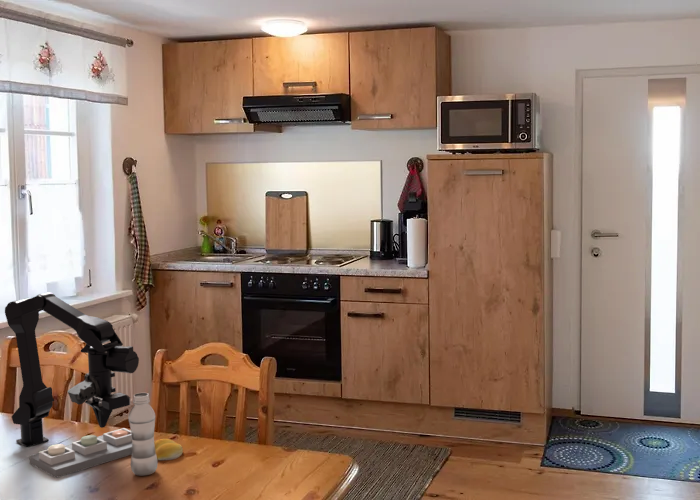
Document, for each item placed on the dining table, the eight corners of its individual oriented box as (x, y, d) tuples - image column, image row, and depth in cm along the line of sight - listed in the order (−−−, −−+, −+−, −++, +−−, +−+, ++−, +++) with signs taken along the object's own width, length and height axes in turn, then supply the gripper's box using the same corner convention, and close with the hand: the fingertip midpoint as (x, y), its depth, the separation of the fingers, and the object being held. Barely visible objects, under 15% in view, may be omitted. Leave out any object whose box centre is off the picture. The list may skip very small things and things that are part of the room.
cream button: (45, 453, 211) (45, 447, 210) (60, 449, 213) (60, 443, 213) (53, 457, 208) (52, 450, 208) (68, 453, 211) (67, 446, 210)
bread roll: (160, 464, 212) (160, 449, 212) (144, 454, 219) (143, 440, 218) (189, 456, 217) (188, 441, 217) (172, 447, 224) (172, 432, 224)
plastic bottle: (163, 470, 207) (160, 392, 205) (148, 480, 201) (144, 399, 199) (141, 467, 209) (137, 389, 207) (125, 477, 203) (121, 397, 201)
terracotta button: (109, 439, 224) (109, 433, 223) (122, 435, 226) (122, 429, 226) (117, 442, 221) (117, 436, 221) (130, 438, 224) (130, 432, 224)
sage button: (78, 444, 217) (78, 438, 217) (92, 440, 220) (92, 434, 220) (86, 447, 214) (85, 441, 214) (100, 443, 217) (99, 437, 217)
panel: (29, 463, 213) (28, 449, 212) (119, 437, 232) (119, 424, 231) (56, 477, 203) (55, 462, 203) (147, 449, 222) (147, 435, 222)
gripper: (53, 369, 218) (56, 427, 220) (91, 382, 206) (94, 443, 208) (91, 361, 226) (93, 416, 228) (130, 373, 214) (132, 432, 216)
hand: (102, 427), depth 220 cm, fingers closed
